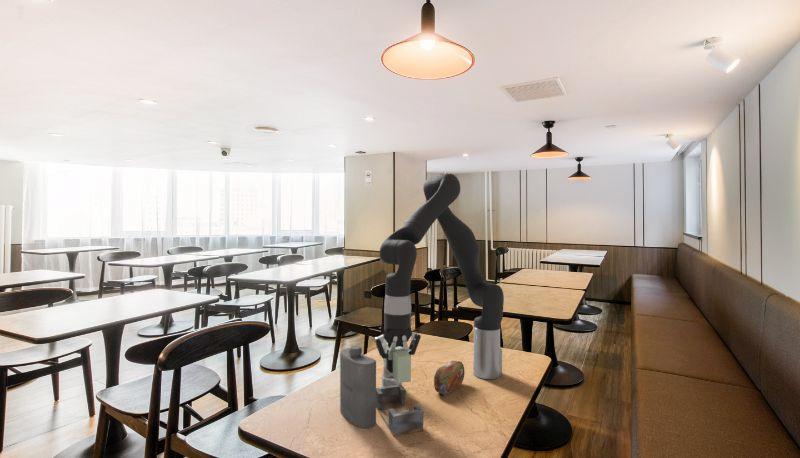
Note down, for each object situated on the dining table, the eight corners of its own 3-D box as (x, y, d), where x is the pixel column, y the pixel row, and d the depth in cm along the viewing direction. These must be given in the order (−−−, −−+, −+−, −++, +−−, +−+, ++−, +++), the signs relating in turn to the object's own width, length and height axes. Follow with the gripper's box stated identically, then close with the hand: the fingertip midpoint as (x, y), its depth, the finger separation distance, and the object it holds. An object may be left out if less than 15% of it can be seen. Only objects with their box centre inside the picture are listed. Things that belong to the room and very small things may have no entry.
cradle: (401, 400, 119) (401, 384, 119) (423, 430, 103) (423, 411, 102) (374, 405, 116) (374, 388, 116) (393, 436, 100) (393, 416, 100)
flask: (334, 409, 114) (334, 342, 113) (352, 403, 117) (351, 338, 116) (361, 432, 102) (361, 357, 101) (379, 425, 105) (379, 352, 105)
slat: (396, 365, 115) (396, 341, 115) (410, 381, 104) (411, 355, 104) (385, 366, 114) (385, 343, 114) (398, 383, 103) (398, 357, 103)
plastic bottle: (399, 394, 123) (400, 332, 122) (379, 392, 124) (379, 331, 124) (403, 386, 129) (403, 327, 128) (384, 384, 131) (384, 325, 130)
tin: (440, 398, 120) (440, 372, 120) (432, 395, 122) (432, 369, 122) (465, 383, 132) (465, 358, 132) (457, 380, 134) (457, 356, 134)
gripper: (416, 305, 114) (415, 363, 115) (369, 309, 110) (369, 369, 110) (426, 311, 107) (425, 372, 108) (377, 315, 103) (376, 379, 103)
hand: (397, 370), depth 109 cm, fingers closed on slat, 3 cm apart
